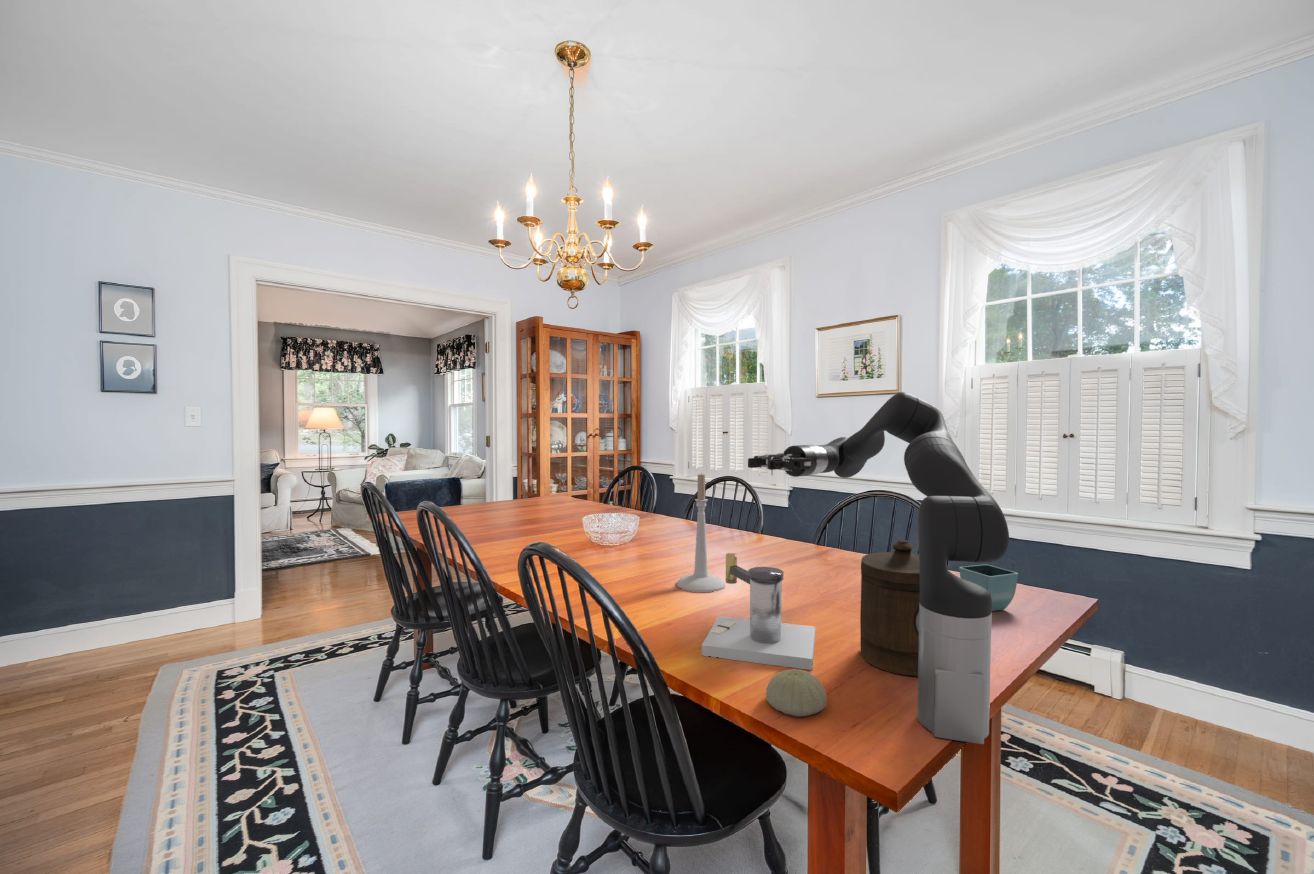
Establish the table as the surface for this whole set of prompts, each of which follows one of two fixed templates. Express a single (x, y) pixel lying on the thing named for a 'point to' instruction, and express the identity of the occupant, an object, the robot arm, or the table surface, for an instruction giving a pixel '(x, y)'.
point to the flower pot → (992, 582)
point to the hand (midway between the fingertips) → (759, 464)
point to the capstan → (760, 598)
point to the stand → (760, 644)
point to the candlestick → (701, 552)
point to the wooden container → (891, 609)
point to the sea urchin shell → (796, 693)
